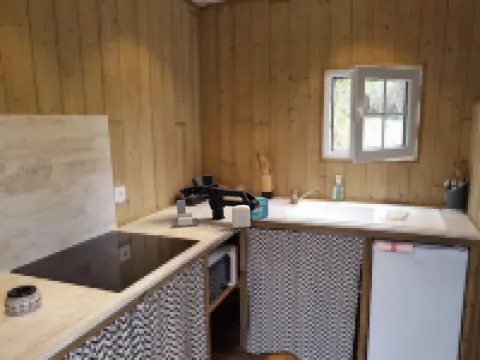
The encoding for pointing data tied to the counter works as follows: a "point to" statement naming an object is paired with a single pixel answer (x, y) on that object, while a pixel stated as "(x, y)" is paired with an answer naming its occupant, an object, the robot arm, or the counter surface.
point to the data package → (260, 209)
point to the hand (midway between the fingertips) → (184, 189)
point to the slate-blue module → (181, 207)
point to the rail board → (185, 220)
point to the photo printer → (240, 216)
